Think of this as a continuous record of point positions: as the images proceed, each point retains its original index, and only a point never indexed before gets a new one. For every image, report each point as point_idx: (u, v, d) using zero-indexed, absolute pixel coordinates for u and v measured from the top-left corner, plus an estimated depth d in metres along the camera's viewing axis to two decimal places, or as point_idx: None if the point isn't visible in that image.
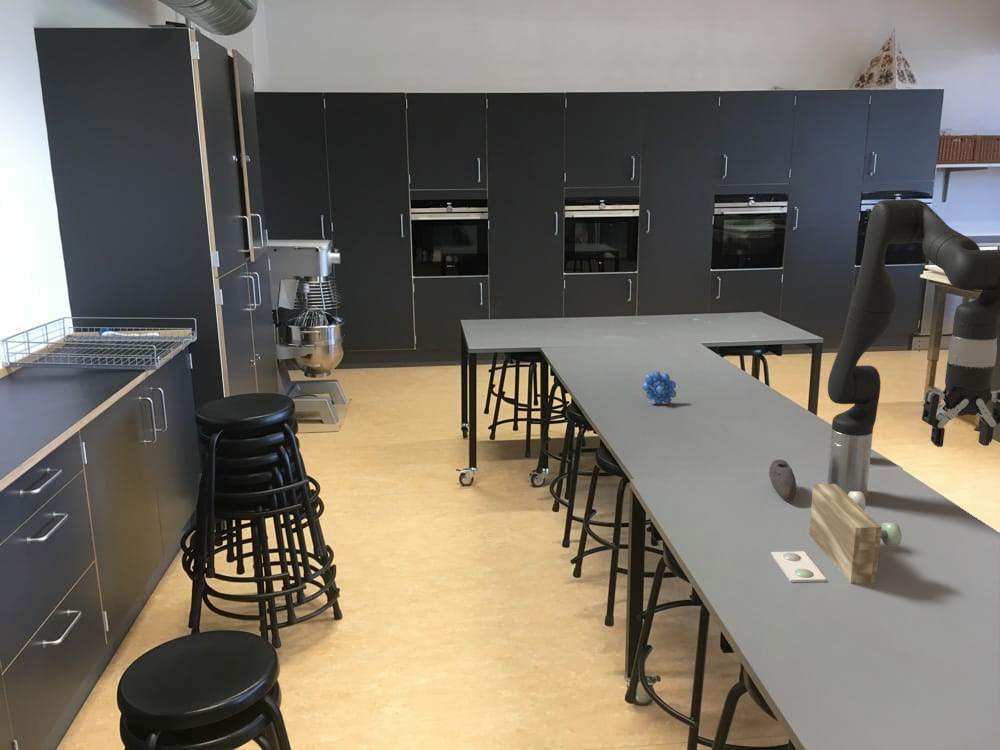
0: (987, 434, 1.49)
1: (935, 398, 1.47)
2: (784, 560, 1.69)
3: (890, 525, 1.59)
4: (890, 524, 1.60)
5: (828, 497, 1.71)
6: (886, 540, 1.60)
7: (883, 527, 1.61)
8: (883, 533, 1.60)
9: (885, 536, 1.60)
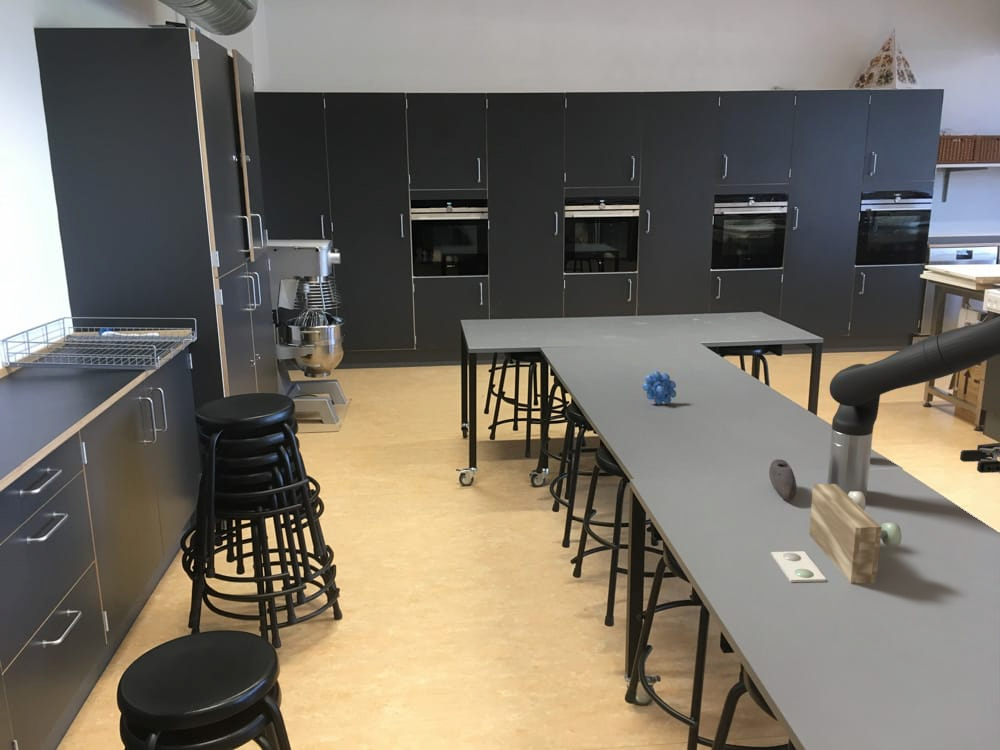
0: None
1: None
2: (784, 560, 1.69)
3: (890, 525, 1.59)
4: (890, 524, 1.60)
5: (828, 497, 1.71)
6: (886, 540, 1.60)
7: (883, 527, 1.61)
8: (883, 533, 1.60)
9: (885, 536, 1.60)
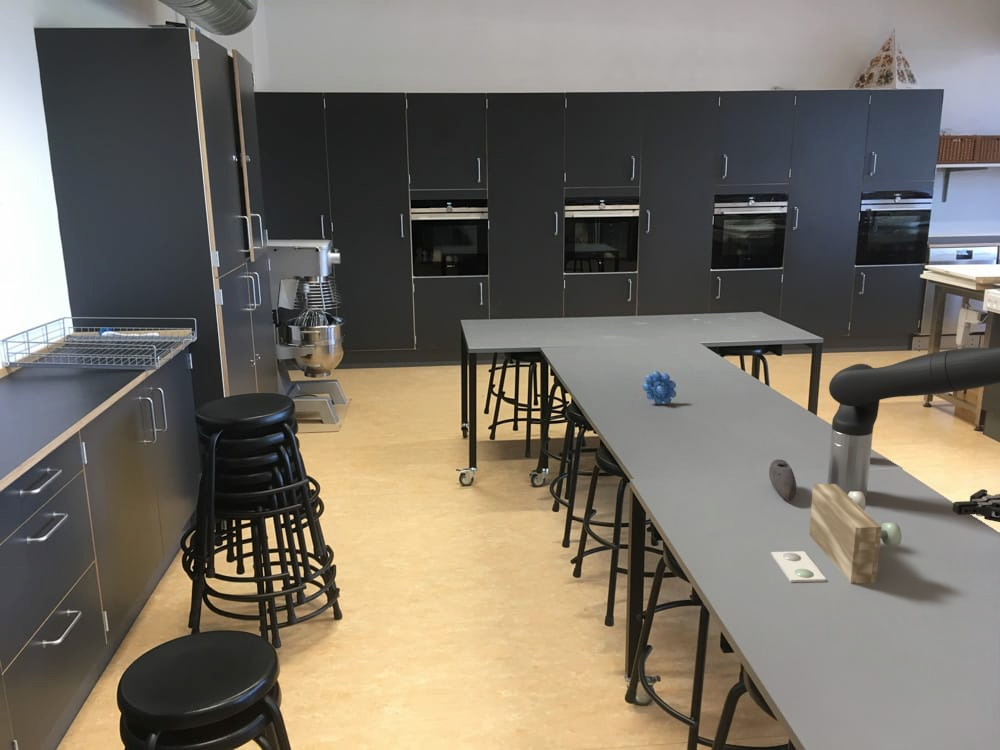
0: None
1: None
2: (784, 560, 1.69)
3: (890, 525, 1.59)
4: (890, 524, 1.60)
5: (828, 497, 1.71)
6: (886, 540, 1.60)
7: (883, 527, 1.61)
8: (883, 533, 1.60)
9: (885, 536, 1.60)
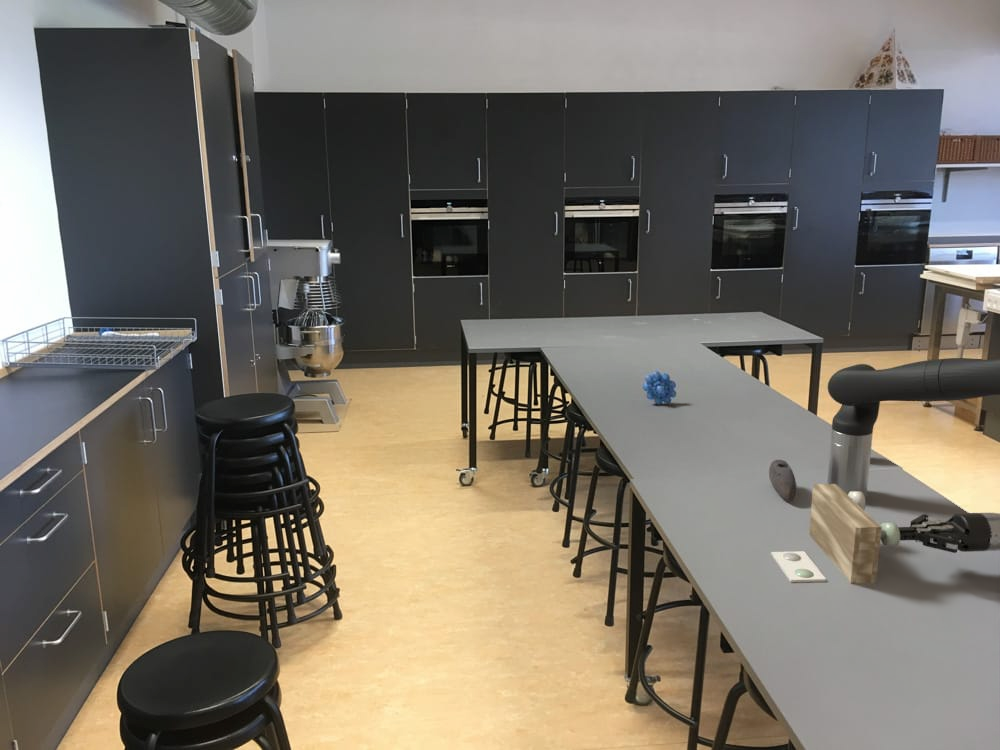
0: None
1: None
2: (784, 560, 1.69)
3: (889, 525, 1.59)
4: (889, 524, 1.60)
5: (828, 497, 1.71)
6: (885, 540, 1.60)
7: (882, 527, 1.61)
8: (881, 534, 1.60)
9: (884, 536, 1.60)
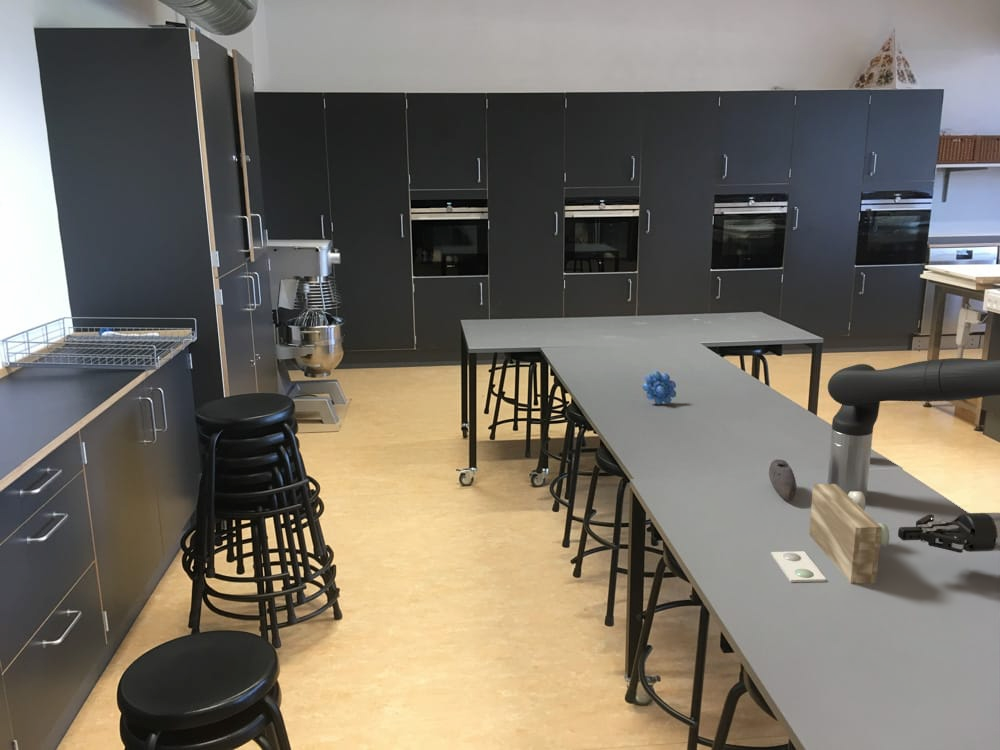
0: None
1: None
2: (784, 560, 1.69)
3: None
4: None
5: (828, 497, 1.71)
6: None
7: None
8: None
9: None
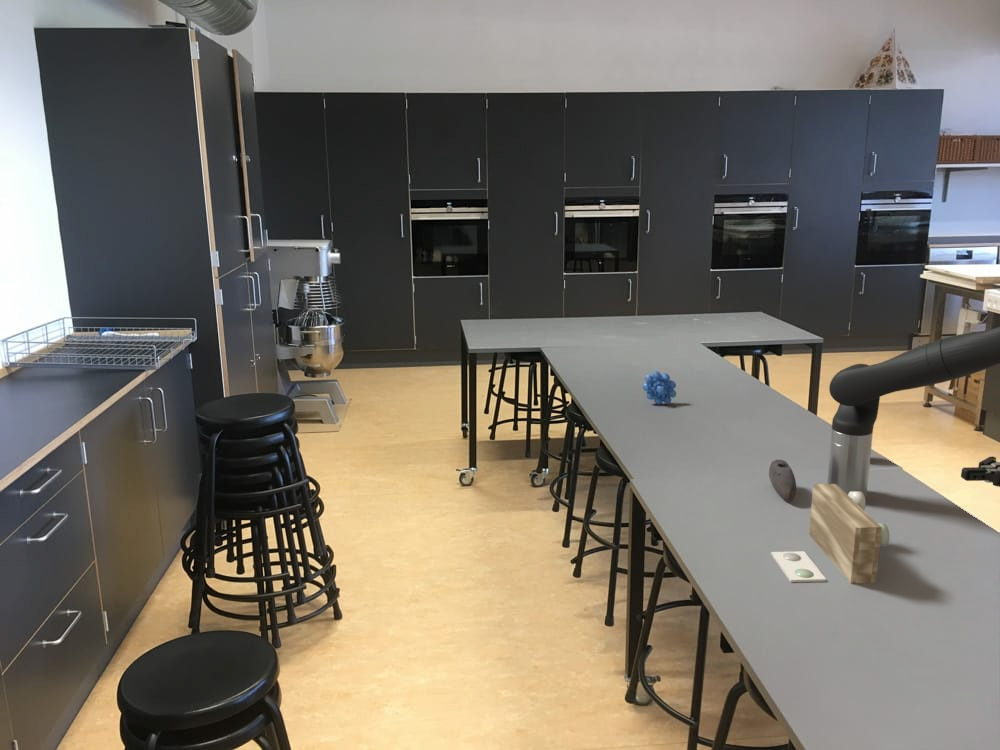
0: None
1: None
2: (784, 560, 1.69)
3: None
4: None
5: (828, 497, 1.71)
6: None
7: None
8: None
9: None
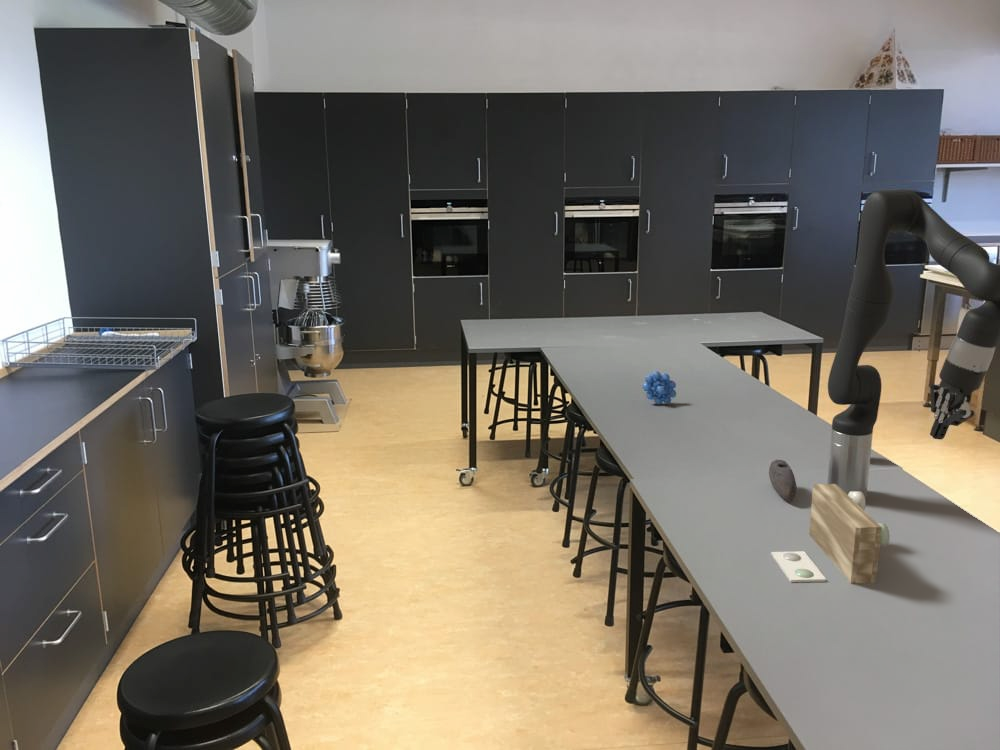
0: None
1: None
2: (784, 560, 1.69)
3: None
4: None
5: (828, 497, 1.71)
6: None
7: None
8: None
9: None
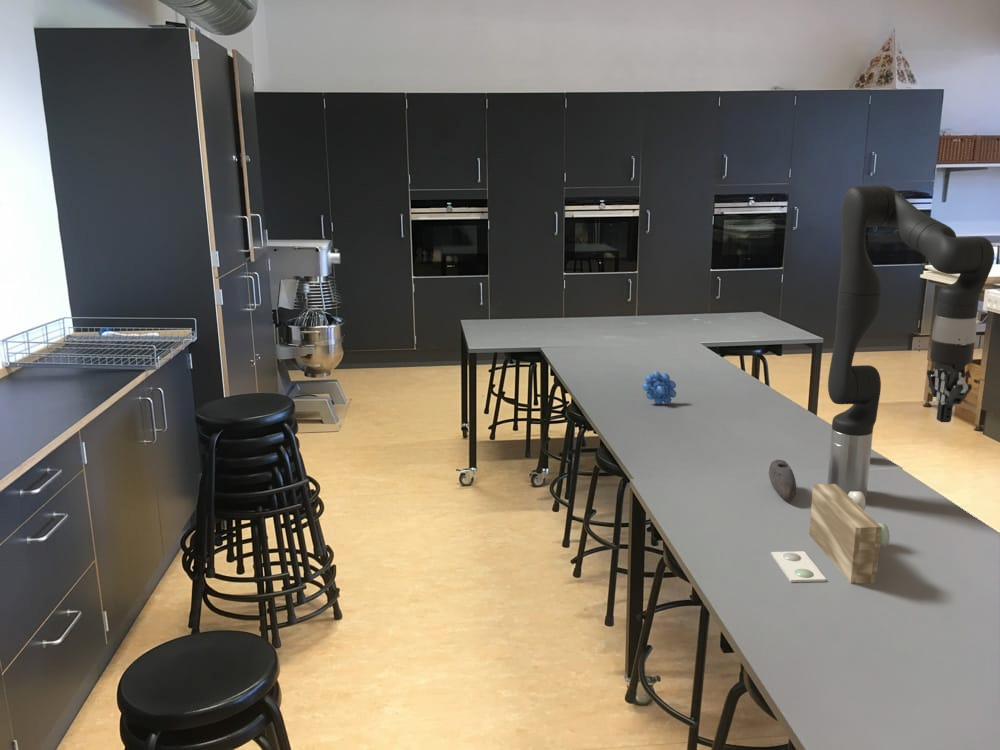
0: None
1: None
2: (784, 560, 1.69)
3: None
4: None
5: (828, 497, 1.71)
6: None
7: None
8: None
9: None
